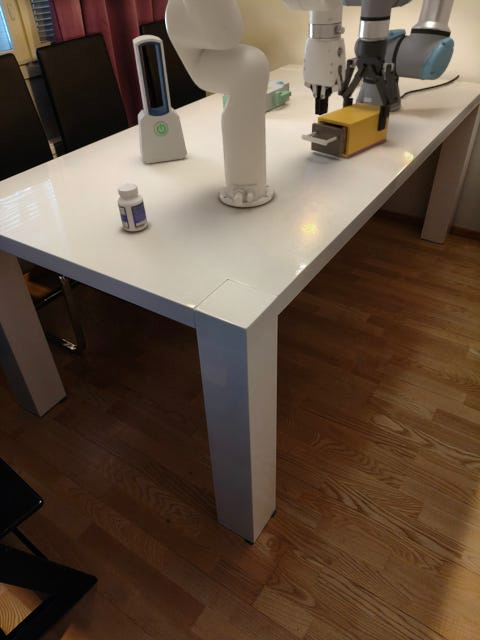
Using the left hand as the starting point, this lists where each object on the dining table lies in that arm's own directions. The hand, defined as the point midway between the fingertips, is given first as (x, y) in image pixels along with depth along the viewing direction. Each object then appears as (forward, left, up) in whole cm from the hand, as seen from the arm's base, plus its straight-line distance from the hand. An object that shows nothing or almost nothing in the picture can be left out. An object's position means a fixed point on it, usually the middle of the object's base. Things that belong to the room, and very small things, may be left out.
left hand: (321, 113), depth 125 cm
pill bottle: (-38, +42, -12) cm, 58 cm away
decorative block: (+56, +19, -12) cm, 60 cm away
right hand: (+15, -14, -8) cm, 21 cm away
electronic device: (+5, +44, -12) cm, 45 cm away
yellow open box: (+11, -10, -12) cm, 19 cm away
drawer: (+6, -6, -11) cm, 14 cm away
